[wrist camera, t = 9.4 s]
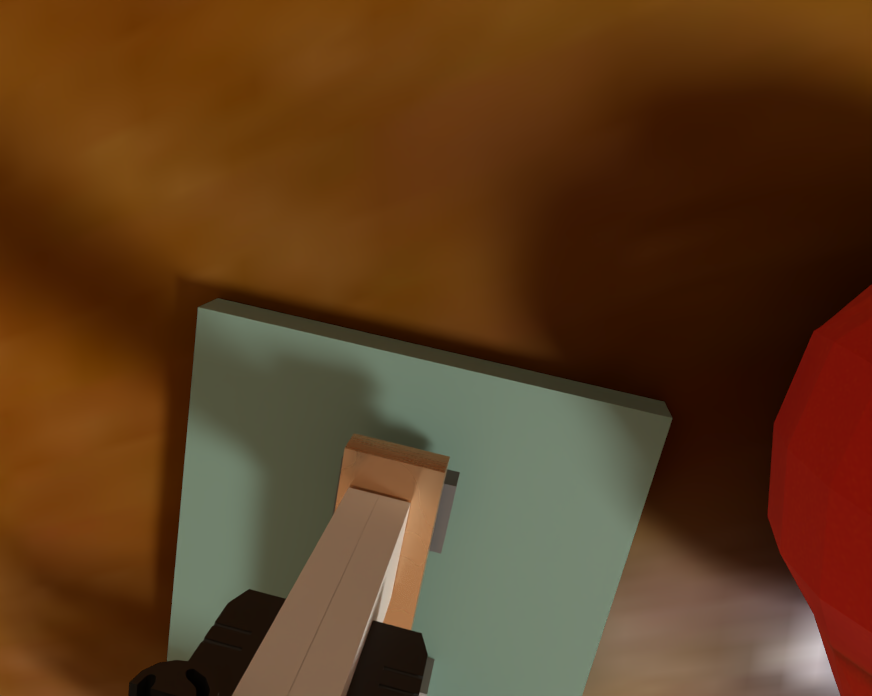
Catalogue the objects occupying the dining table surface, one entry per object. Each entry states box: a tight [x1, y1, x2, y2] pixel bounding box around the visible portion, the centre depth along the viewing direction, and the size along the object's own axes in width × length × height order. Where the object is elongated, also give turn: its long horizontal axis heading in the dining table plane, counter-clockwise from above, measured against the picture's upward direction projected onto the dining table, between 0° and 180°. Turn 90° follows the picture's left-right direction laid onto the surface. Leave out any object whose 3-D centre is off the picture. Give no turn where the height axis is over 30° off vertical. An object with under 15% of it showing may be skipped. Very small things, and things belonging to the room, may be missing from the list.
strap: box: [335, 433, 450, 630], centre depth 18 cm, size 10×3×1 cm, turn 169°
